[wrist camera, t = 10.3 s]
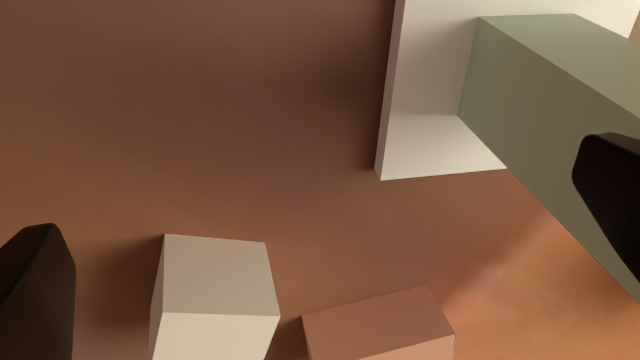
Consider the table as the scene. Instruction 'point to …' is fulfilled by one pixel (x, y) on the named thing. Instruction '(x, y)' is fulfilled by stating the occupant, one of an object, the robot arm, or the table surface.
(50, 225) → the robot arm
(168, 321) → the cream cube
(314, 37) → the table surface
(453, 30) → the white tile
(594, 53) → the tall sage block
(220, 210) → the table surface
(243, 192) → the table surface
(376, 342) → the terracotta brick
